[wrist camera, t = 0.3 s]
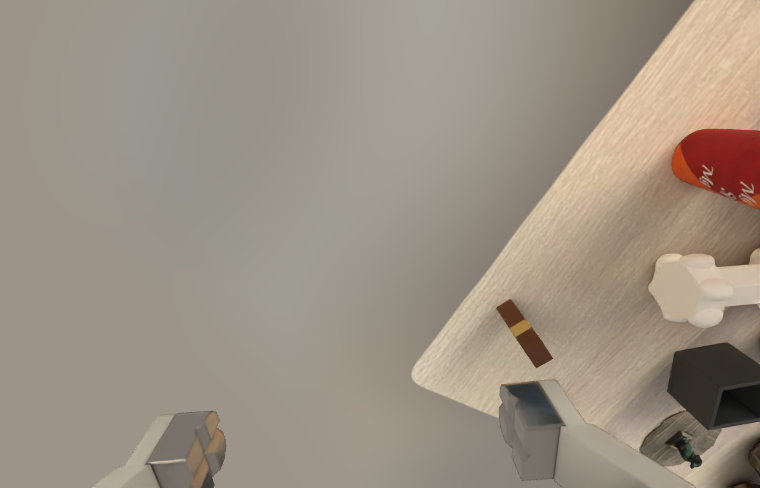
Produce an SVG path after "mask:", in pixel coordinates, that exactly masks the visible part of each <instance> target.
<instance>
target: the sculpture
mask: <svg viewBox="0 0 760 488" xmlns="http://www.w3.org/2000/svg"><path fill="white" fill-rule="evenodd" d="M721 430H722V429H721V428H720V429H715V430H709V431H708V430H707V429H706V428H705V427H704V426H702V425H701V424H700V423H699V422H698V421H697V420H696V419H695V418H694V417H693V416H692V415H691V414H690V413H689V412H688V411H686V412H681V413H679V414H676V415H674V416H672V417H671V418H668V419H667V420H665V421H664V422H663V423H662V426H661V427H659V428H657V429H656V430H654V431H653V432H652V433H650V434H649V436H648V437H646V439H645V442H644V444H643V446H642V448H641V452H642V454H643V455H645V456H646V457H648V458H650V459H651V460H653V461H655V462H656V463H658V464H660V465H661V466H675V465H679V464H681V463H683V462H685V461H688V462H690V463H691V465H690V467H691V468H692V469H693V468H694V467H699V466H701V464H702V460H701V458H700V456H699V455H701V454H703V453H704V452H705V451H707V450H708V449H709V448H711V447H712V446H713V445H714V443H715V441H716V439H717V437H718V435H719V434H720V432H721Z"/></svg>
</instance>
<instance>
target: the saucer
mask: <svg viewBox="0 0 760 488" xmlns="http://www.w3.org/2000/svg"><path fill="white" fill-rule="evenodd" d="M732 488H760V485H757V484H752V483H744V484H740V485H737V486H734V487H732Z"/></svg>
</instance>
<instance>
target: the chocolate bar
mask: <svg viewBox="0 0 760 488" xmlns="http://www.w3.org/2000/svg"><path fill="white" fill-rule="evenodd" d="M496 309H497V310H498V312H499V313H500V315H501V316H502V318H503V319H504V321H505V322H506V324H507V325H508V327H509V328H510V330H511V332H512V333H513V335H514V336H515V338H516V339H517V341H518V342H519V344H520V345H521V347H522V348H523V350H524V351H525V353H526V354H527V356H528V357H529V358H530V360H531V361H532V363H533V364H534V366H535V367H536V368H538V367H539V366H541V365H543V364H545V363H547V362H548V361H550V360H552V359H553V358H552V356H551V354H550V353H549V351H548V350H547V348H546V347H545V345H544V344H543V342H542V341H541V339H540V338H539V337H538V335H537V334H536V333H535V331H534V330H533V328H532V327H531V326H530V324H529V323H528V322H527V320H526V319H525V318H524V317H523V315H522V314H521V313H520V311H519V310H518V309H517V307H516V306H515V305H514V303H513V302H512V301H511V300H508V301H507V302H505V303H503V304H502V305H500V306H498V307H497V308H496Z"/></svg>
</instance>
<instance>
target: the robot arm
mask: <svg viewBox="0 0 760 488" xmlns="http://www.w3.org/2000/svg"><path fill="white" fill-rule="evenodd" d="M500 397H501V400H502V402H503V403H502V404H501V406H500V407H499V420H500V427H501V431H502V434H503V437H504V439H505V442H506V443H507V444H508V445H509V446H510V447H512V459H513V462H514V464H515V466H516V469H517V471H518V474H519V476H520V479H521V481H525V480H542V479H554V481H555V482H556V483H557V484H558V485H559V486H560V487H561V488H696V487H695V486H694V485H693V484H691V483H689V482H688V481H686V480H684V479H683V478H681V477H679V476H678V475H676V474H674V473H673V472H671V471H669V470H668V469H666V468H665V467H663V466H661V465H660V464H658V463H656V462H655V461H653V460H651V459H650V458H648V457H646V456H645V455H643V454H641V453H640V452H638V451H636V450H635V449H633V448H632V447H630V446H628V445H627V444H625V443H623V442H622V441H620V440H618V439H617V438H615V437H613V436H612V435H610V434H608V433H607V432H605V431H603V430H602V429H600V428H599V427H597V426H595V425H594V424H587V423H586V422H585V421H584V419H583V418H582V416H581V415H580V413H579V412H578V410H577V409H576V407H575V406H574V405H573V403H572V402H571V400H570V399H569V397H568V396H567V394H566V393H565V391H564V390H563V388H562V387H561V386H560V384H559V383H558V381H556V380H555V379H548V380H538V381H530V382H520V383H510V384H501V387H500ZM219 421H220V420H219V418H218V415H217V412H215V411H203V412H188V413H178V414H163V415H160V416H159V417H157V418H156V419H155V420H154V422H153V423H152V425H151V426H150V428H149V429H148V431H147V432H146V434H145V435H144V437H143V438H142V440H141V442H140V443H139V445H138V446H137V447H136V449H135V450H134V452H133V454H132V455H131V456H130V458H129V460H128V461H127V463H126V464H125V466H124V467H118V468H116V469H115V470H114V471H112V472H111V473H110V474H108V475H107V476H106V477H104V478H103V479H102V480H101V481H99V482H98V483H97V484H95V485H94V486H92V487H91V488H214V482H213V479H212V477H213V476H214V475H215V474H216V473H217V472H218V471H219V470H220V469H221V467H222V464H223V462H224V459H225V452H226V439H225V436H224V433H223V432H222V431H221V430H219V429H218V428H217V426H218V423H219Z"/></svg>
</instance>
